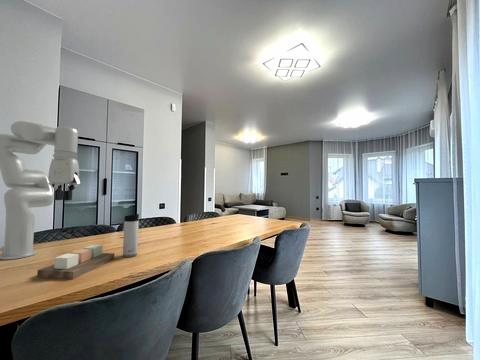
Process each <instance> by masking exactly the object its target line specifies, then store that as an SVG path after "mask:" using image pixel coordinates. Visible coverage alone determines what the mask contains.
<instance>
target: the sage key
mask: <svg viewBox="0 0 480 360" xmlns="http://www.w3.org/2000/svg"><path fill="white" fill-rule="evenodd" d="M82 249H91V258H95V257H97V256H99V255H102V253H103V244H102V245H101V244H91V245H88V246H84V247H83V248H82Z"/></svg>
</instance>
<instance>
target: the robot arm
mask: <svg viewBox="0 0 480 360" xmlns="http://www.w3.org/2000/svg"><path fill="white" fill-rule="evenodd" d="M10 131H11V133H12V134H7V133H0V173H1V174H0V175H1V177H2V181H3V183H4V184H5V186H6V187H8V188H9V189H8V190H6V192H5V193H3V194H4V195H3V202H4V206H5V224H4V225H5V228H4V242H3V243H4V244H3V246H2V247H0V252H1V254H0V260H17V259H22V258H27V257H31V256H35V255H36V254H38V250H37V249H35V248H34V236H35V235H34V234H35V215H34V213H33V211H31V210H30V209H32V208H42V207H43V208H45V207H49V206H52V205H53V203H54V201H66V202H67V201H72V200H73V192H74V191H75V188H76V187H78V186H80V185H81V182H80V165H79V160H78V144H79V143H78V140H79V131H78V130H77V129H76V128H74V127H71V126H65V125H63V126H57V127H56V128H55V127H51V126H47V125H42V124H40V123H35V122H31V121H25V120H19V121H15V122H13V123H12V124H11V125H10ZM47 145H48V146H52V147H53V146H54V149H53V150H54V153H53V154H52V156H53V158H52V159H51V162H50V166H49V169H48V175H47V174H46V173H45V172H44V171H42V170H38V169H27V168H26V166H25V162H24V161H23V160H22V159H21V158H20V157H19V156H17V155H16V154H14V153H18V154H27V155H36V154H38V153H40V152H41V151H42V150H43V149H44V148H45V146H47ZM64 184H65V190H63V187H64ZM52 188H53V189H52Z"/></svg>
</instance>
